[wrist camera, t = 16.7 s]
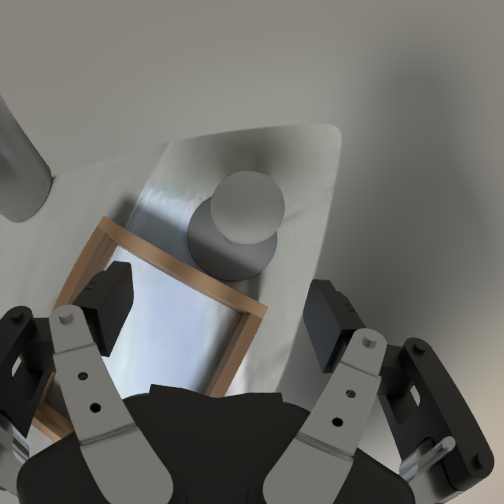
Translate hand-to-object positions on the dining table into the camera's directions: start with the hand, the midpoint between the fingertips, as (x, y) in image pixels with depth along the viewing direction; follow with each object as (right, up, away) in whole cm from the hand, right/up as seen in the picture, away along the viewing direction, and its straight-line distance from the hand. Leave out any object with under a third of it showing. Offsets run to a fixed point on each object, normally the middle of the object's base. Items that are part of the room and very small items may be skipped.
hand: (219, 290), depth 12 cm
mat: (-1, +3, +19) cm, 19 cm away
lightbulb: (-1, +3, +19) cm, 19 cm away
